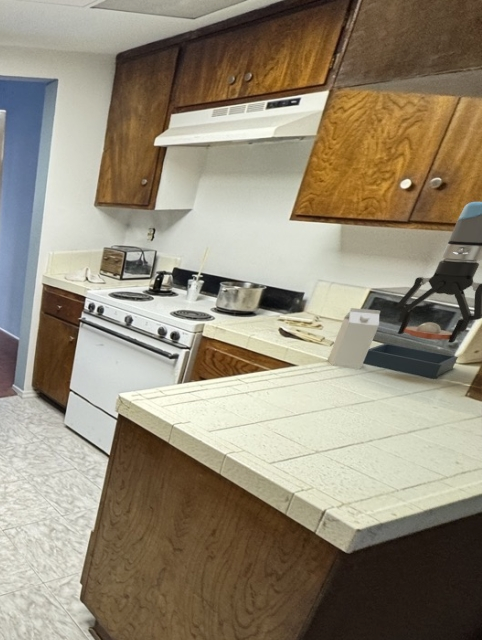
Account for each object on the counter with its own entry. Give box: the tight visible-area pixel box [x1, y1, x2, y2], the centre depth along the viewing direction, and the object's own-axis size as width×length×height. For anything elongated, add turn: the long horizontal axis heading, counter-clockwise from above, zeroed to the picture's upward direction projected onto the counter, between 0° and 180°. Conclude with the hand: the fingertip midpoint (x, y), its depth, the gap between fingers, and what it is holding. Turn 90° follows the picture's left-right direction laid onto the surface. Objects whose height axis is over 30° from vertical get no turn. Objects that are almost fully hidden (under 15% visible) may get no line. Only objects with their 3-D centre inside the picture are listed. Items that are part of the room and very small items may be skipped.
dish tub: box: [362, 342, 459, 380], centre depth 155 cm, size 18×18×5 cm
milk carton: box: [327, 307, 381, 370], centre depth 153 cm, size 7×7×19 cm
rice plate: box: [403, 321, 453, 341], centre depth 139 cm, size 10×10×5 cm
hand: (425, 337), depth 140 cm, fingers closed on rice plate, 10 cm apart
